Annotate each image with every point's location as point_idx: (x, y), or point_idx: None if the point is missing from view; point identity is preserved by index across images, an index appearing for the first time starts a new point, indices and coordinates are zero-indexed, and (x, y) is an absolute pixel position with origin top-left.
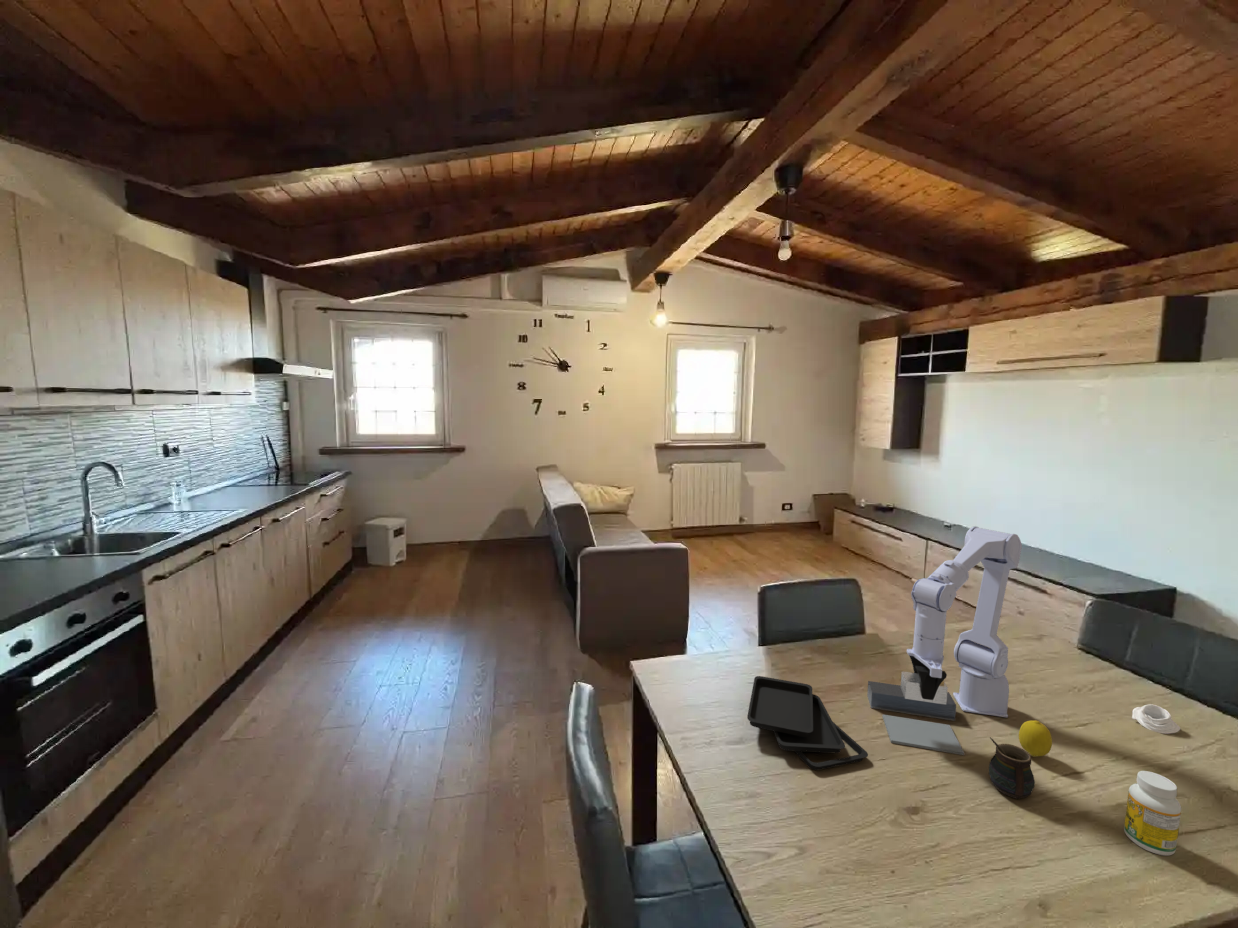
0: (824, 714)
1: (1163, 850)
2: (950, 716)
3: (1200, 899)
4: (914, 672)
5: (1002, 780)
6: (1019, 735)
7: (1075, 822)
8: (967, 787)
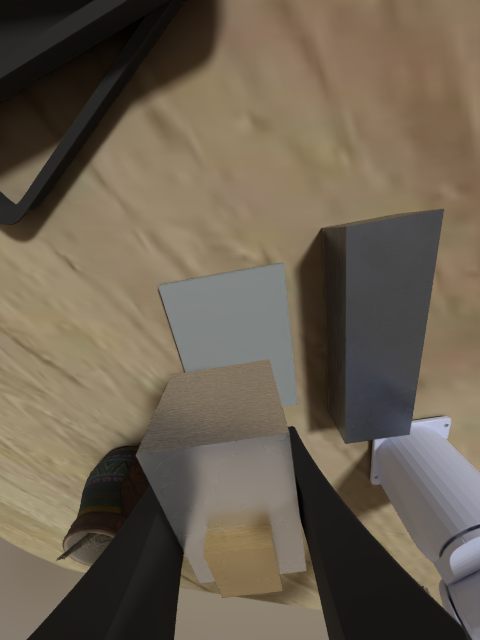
0: (113, 12)
1: None
2: (330, 409)
3: (61, 559)
4: (308, 486)
5: (87, 479)
6: None
7: None
8: (95, 411)
